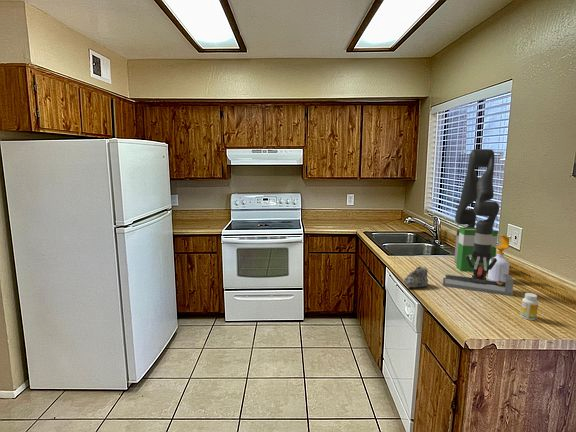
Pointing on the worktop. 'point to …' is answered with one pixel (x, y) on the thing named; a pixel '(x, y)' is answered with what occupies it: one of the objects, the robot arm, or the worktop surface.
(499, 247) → the soap bottle
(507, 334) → the worktop surface
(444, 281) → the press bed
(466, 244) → the hardback book
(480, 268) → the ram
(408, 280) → the mineral rock
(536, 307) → the supplement bottle
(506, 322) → the worktop surface
